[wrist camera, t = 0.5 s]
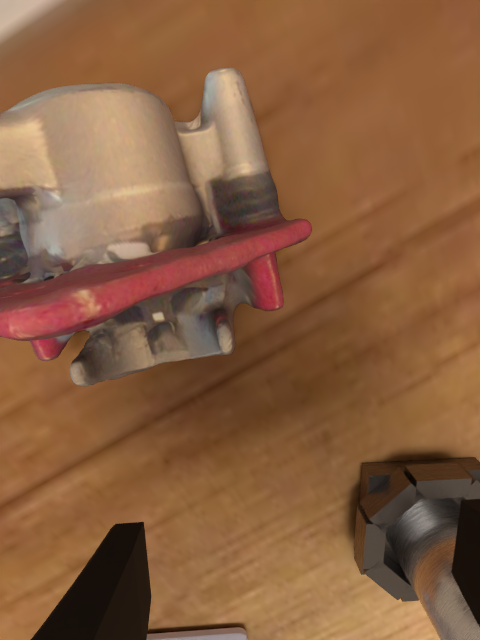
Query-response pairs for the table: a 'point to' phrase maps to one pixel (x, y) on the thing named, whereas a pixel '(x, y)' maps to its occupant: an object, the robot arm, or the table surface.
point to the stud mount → (403, 509)
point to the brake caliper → (135, 225)
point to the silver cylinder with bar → (433, 565)
